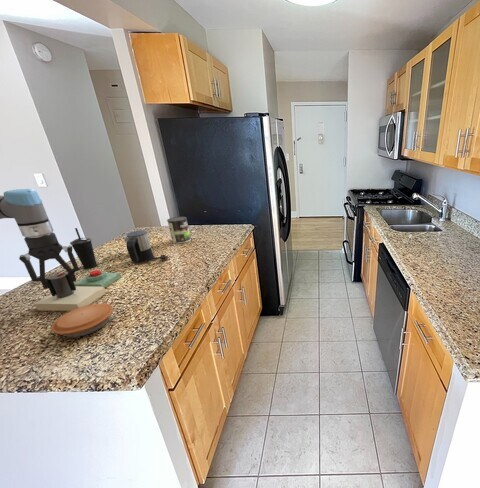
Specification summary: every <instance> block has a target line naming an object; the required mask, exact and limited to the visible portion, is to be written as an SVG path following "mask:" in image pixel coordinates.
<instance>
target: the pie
mask: <svg viewBox="0 0 480 488" xmlns="http://www.w3.org/2000/svg"><path fill="white" fill-rule="evenodd" d="M113 311H114V307H113V306H112V304H109V303H91V304H89V305H86V306H83V307H79V308H77V309H74V310H72V311H67V312H66V313H65V314H63V315H61V316H60V317H59V318H57V319H56V320H55V321H54V322H53V323H52V325H51V327H50V330H51V332H53V333H54V334H57V335H61V336H64V337H66V338H80V337H84V336H87V335H91V334H92V333H94V332H97V331H98V330H100V329H101V328H103V327H104V326H105V325H106V324H107V323H108V321H109V319H110V317H111V315H112V314H113Z"/></svg>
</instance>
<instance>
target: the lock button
mask: <svg viewBox="0 0 480 488" xmlns="http://www.w3.org/2000/svg"><path fill="white" fill-rule="evenodd" d="M100 271H101V270H100V269H95V270H92V271H90V272H89V273H88V275H89V274H90V276H91V277H96V276H99V275H101V272H100Z"/></svg>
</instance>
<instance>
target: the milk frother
mask: <svg viewBox="0 0 480 488" xmlns="http://www.w3.org/2000/svg"><path fill="white" fill-rule="evenodd" d="M125 236H127V238H128V241H127V242H126V244H125V245H126V250H127V252H128V255H129V258H130V261H131V262H132V263H135V264H143V263H148V262H151V261H154V260H155V261H156V260H162V261H164V260H166V258H169V256H168V255H165V254H161V255H160V256H157V257H155V255H154V253H153V249H152V246H151V242H150V238H149V235H148V230H145V229H140V230H139V229H138V230H133V231H130V232H127V233H126V234H125Z"/></svg>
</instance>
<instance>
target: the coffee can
mask: <svg viewBox="0 0 480 488" xmlns="http://www.w3.org/2000/svg"><path fill="white" fill-rule="evenodd" d="M166 221H167V225H168V230H169V233H170V238H171V241H172V243H173V244H176V245H177V244H178V245H179V244H185V243H188V242H190V241H191V240H192V239H191V234H190V229H189V224H188V220H187V217H186V216H173V217H170V218H167V220H166Z"/></svg>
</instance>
